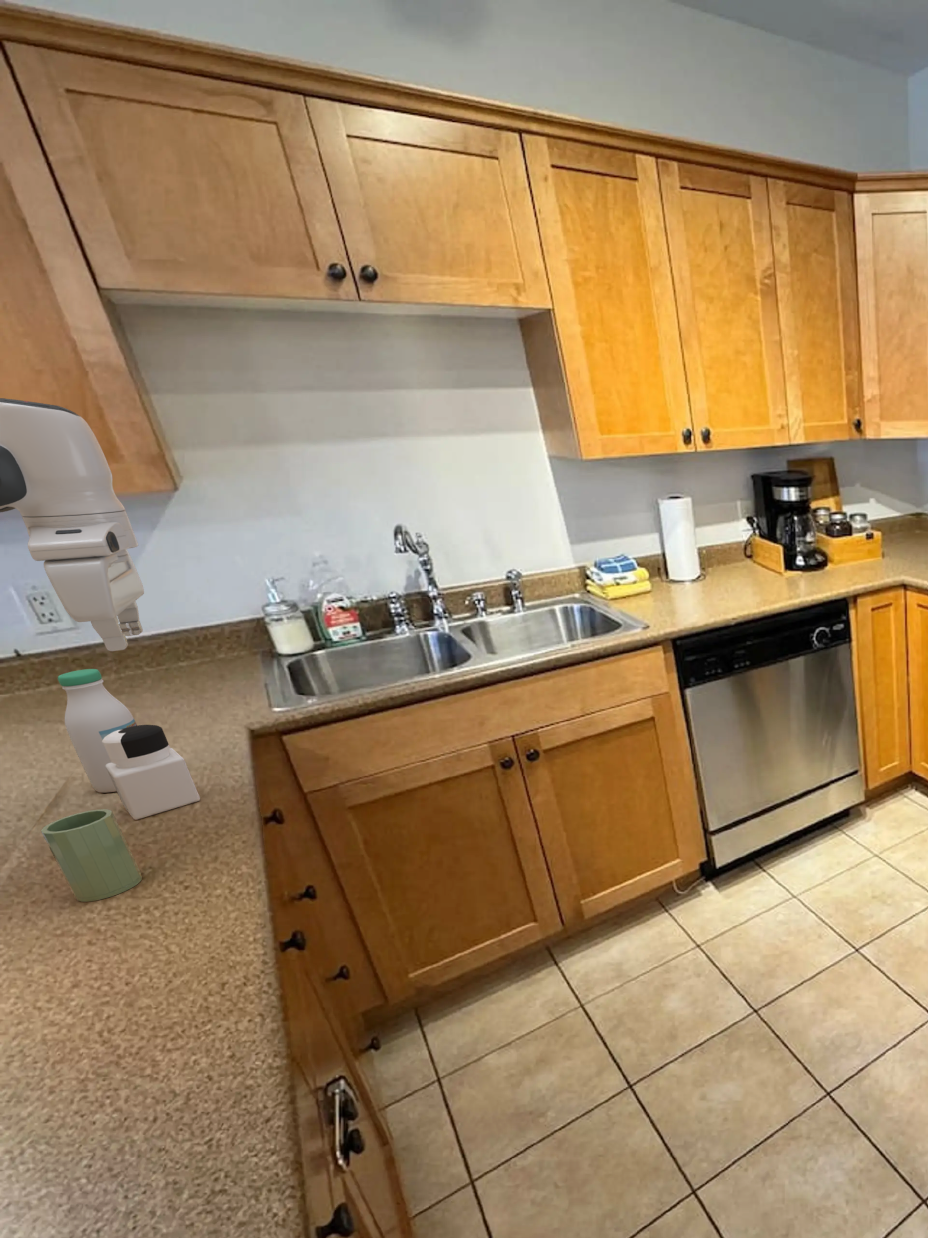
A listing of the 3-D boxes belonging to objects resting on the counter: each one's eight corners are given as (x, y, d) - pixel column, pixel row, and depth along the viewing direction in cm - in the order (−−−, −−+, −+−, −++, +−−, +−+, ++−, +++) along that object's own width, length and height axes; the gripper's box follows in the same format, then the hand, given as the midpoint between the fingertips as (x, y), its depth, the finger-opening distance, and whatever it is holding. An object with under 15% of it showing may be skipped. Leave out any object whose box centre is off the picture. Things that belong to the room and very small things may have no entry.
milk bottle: (101, 798, 120) (47, 683, 113) (89, 786, 124) (37, 675, 117) (165, 779, 126) (117, 669, 119) (152, 769, 130) (105, 662, 123)
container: (189, 788, 122) (159, 716, 118) (201, 800, 118) (170, 726, 113) (124, 807, 116) (89, 732, 112) (134, 821, 112) (99, 743, 108)
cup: (71, 907, 91) (35, 838, 88) (82, 886, 96) (48, 819, 92) (138, 889, 95) (106, 821, 91) (146, 869, 99) (115, 804, 96)
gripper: (70, 531, 99) (110, 630, 103) (22, 548, 83) (71, 663, 88) (136, 527, 102) (172, 623, 107) (101, 542, 87) (145, 653, 92)
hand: (126, 641), depth 97 cm, fingers open, 8 cm apart
